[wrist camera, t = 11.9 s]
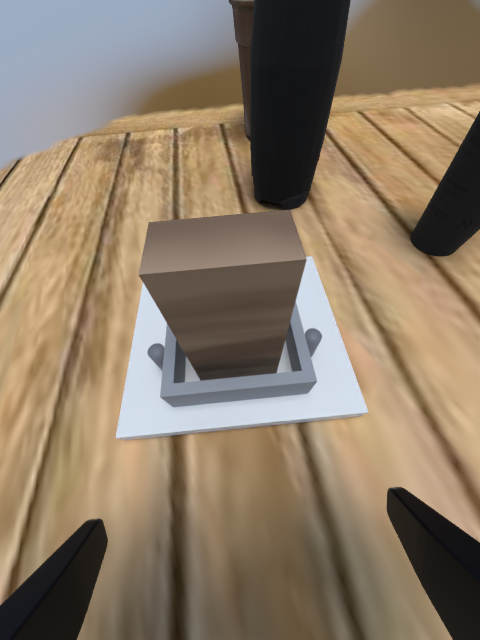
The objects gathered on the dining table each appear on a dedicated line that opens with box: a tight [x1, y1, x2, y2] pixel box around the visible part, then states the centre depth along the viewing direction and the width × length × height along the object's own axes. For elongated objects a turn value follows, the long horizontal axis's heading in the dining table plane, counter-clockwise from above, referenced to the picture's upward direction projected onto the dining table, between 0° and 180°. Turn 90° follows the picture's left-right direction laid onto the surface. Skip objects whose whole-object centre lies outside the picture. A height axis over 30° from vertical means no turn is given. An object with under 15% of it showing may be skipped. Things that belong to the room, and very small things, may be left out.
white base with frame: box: [116, 256, 368, 440], centre depth 20 cm, size 16×18×4 cm
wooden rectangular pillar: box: [139, 210, 307, 381], centre depth 14 cm, size 4×6×12 cm, turn 95°
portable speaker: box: [250, 0, 350, 210], centre depth 26 cm, size 9×9×20 cm
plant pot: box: [229, 0, 254, 139], centre depth 39 cm, size 16×16×16 cm
